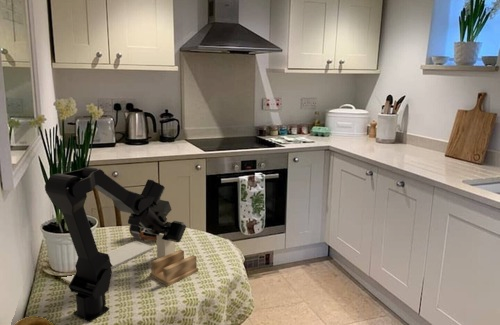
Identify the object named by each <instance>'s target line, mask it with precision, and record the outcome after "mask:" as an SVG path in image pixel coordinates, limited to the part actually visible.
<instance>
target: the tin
mask: <svg viewBox="0 0 500 325" xmlns="http://www.w3.org/2000/svg"><path fill="white" fill-rule="evenodd" d="M166 222H168V220H167V221H166ZM166 222H164V223H166ZM130 225H131V224H129V226H130ZM141 229H142V228H141ZM141 229H140V232H141V233H140V234H137V233H133V232H132V231H130V227H129V232H130V235H131V237H133V239H135V238H136V240H137V241H142V240H145V241H157V237H149V236H145V235H143V233H144V232H142V231H141ZM141 239H142V240H141Z"/></svg>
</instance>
